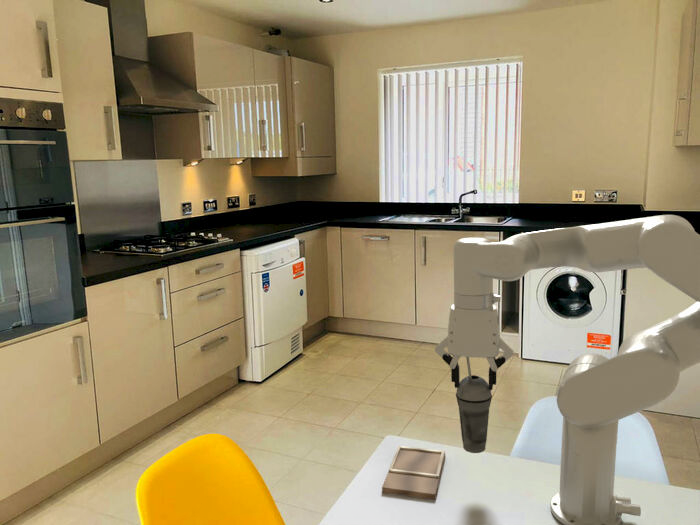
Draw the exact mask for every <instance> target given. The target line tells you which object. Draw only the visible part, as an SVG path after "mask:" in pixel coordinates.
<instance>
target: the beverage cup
mask: <svg viewBox="0 0 700 525" xmlns="http://www.w3.org/2000/svg"><path fill="white" fill-rule="evenodd" d="M465 358H466V364H467V372H468V375H467V376H465V377H463V378H462V379H461V380H460V382H459V386H458V387H457V388H456V392H455V397H456V401H457V406H458V413H459V423H460V430H461V442H462V446H463V450H465V452H468V453H471V454H480V453H483V452H484V451H486V445H487V441H488V440H487V438H488V427H489V416H490V407H491V403H492V398H493V394H492V390H490V389H489V382H487V381H486V379H485V378H483V377H481V376H480V375H475V374H474V375H473V374H472V370H471V363H470V357H465Z"/></svg>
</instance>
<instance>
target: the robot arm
mask: <svg viewBox="0 0 700 525" xmlns="http://www.w3.org/2000/svg"><path fill="white" fill-rule="evenodd" d="M452 252H453V304H452V305H451V306H450V309H449V316H448V327H447V336H446V337H444V338H443V339H442V340H441V341H440V342H439V343H438V344H437V345H436V346H435V347H434V352H436V354H437V355H438V356H439V357H441V358H442V360H443V362H445V363H446V364H447V365H448V366H449V368H450V370H451V374H450V376H451V377H450V379H451V382H452V383H454V388H455V389H457V387H458V386H459V383H460V381H461V380H460V378H461V377H460V376H461V375H460V365H459V360H460V358H461V357H463V358H466V357H469V358H477V359H478V358H481V359H482V358H483V359H486V360H487V363H488V365H489V367H488V385H489V389H490V390H491V391H493V388H494V386H496V385H497V371H498V369H500V368H501V367H502V366H504V365H505V363H506V362H507V361H508V360H510V359H511V358H512V357H513V356H514V353H515V352H514V351H515V350H514V349H512V347H510V346H509V345H508V344H507V343H506V341H505V340H503V339H502V338H501V332H500V317H499V311H498V308H497V306H496V305H495V304H497V303H501V295H498V294H495V293H494V279H495V280H499V281H503V282H514V281H518V280H521V278H523V277H524V276H525V275H526V274H528V273H529V271H533V270H539V269H548V268H551V269H552V268H561V267H562V268H564V267H566V268H567V267H568V268H577V269H579V270H583V271H584V272H589V273H605V272H607V273H608V272H615V271H622V270H631V269H646V268H647V269H648V270H649V271H650V272H652V273H653V274H655V275H656V276H657V277H659V278H660V279H662V280H663V281H665V282H666V283H667V284H669V285H670V286H672V287H674V288H676V290H678V291H680V292H682V293H683V294H684V295H686V296H688V297H689V298H691V299H693V300H694V301H695V302H694V303H692V304H691V305H690V306H688V307H687V308H685V309H683V310H681V311H680V312H678V313H676V314H675V315H674V314H673V316H670V317H668V318H666V319H664V320H662V321H660V322H658V323H656V324H654V325H651V326H649V327H647V328H644V329H642V330H640V331H637V332H636V333H632V334H631V335H630V336H628V337H626V338H625V339H624V340H623V341H622V343H621V345H620V346H619V348H618V352H617V354H616V355H615V356H613V357H611V358H608V357H606V356H604V355H601V354H598V353H584V354H581V355H579V356H578V357H577V356H576V358H574V359H573V360H572V361H571V363H569V365H568V366H567V368H566V370H565V371H564V374H563V376H562V379H561V381H560V383H559V386H558V388H557V391H556V405H557V408H558V411H559V412H560V414H561V415H562V430H561V431H562V432H561V434H562V435H561V449H560V450H561V452H560V469H559V470H560V473H559V474H560V476H559V492H557V493H556V494H555V495H553V496H552V498H551V500H550V511H551V513H552V514H553V517H555V519H556V520H557V521H559V522H560V523H561V524H563V525H621V522H622V515H623V514H626V515H629V516H635V517H637V516H638V517H641V515H642V514H641V513H642V512H641V506H640V504H634V503H633V504H632V500H631V497H620V496H617V495H616V494H615V491H614V490H615V489H614V488H615V475H616V474H615V472H616V462H617V460H616V459H617V444H618V431H619V420H622V419H625V418H627V417H629V416H632V415H634V414H637V413H639V412H642V411H644V410H646V409H649V408H651V407H654V406H656V405H659V404H660V403H661V402H663V401H664V400H666V399H667V398H668V397H669V396H671V395H672V394H673V392H674V391H675V390H676V388H677V386H678V384H679V380H680V373H681V372H683V371H685V370H687V369H688V368H690V367H693V366H695V365H697V364H699V363H700V234H699V233H698V232H696V231H695V228H694V227H693V226H692V224H691V223H690V222H689V221H688V220H687V219H686V218H684V217H682V216H680V215H675V214H662V215H653V216H646V217H639V218H631V219H625V220H618V221H617V220H615V221H610V222H609V221H608V222H602V223H595V224H586V225H578V226H571V227H561V228H560V227H559V228H554V229H553V228H552V229H544V230H538V231H531V232H524V233H518V234H517V233H516V234H514V235H512V236H510V237H507V238H506V239H504V240H501V241H498V242H492V241H491V240H490V239H488V238H485V237H462V238H460V239H457V240H456V241H455V242H454V244H453V251H452ZM446 347H447V351H446V350H445V348H446ZM500 349H501V350H502V351H503V354H501V355H500V356H499V353H500ZM496 357H497V358H496Z"/></svg>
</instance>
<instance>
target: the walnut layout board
mask: <svg viewBox="0 0 700 525" xmlns="http://www.w3.org/2000/svg"><path fill="white" fill-rule="evenodd" d="M445 460H446V451H445V450H440V449H430V448H421V447H413V446H412V447H411V446H405V445H404V446H403V445H398V446H397V448H396V451H395V453H394V456H393V458H392V461H391V463H390V466H389V468H388V472H387V474H386V477H385V479H384V482H383V484H382V487H381V491H382V492H381V493H384V494H391V495H396V496H397V495H399V496H405V497H414V498H421V499H427V500H436V498H437V495H438V494H437V493H438V489H439V485H440V483H441V482H440V480H441V477H442V473H443V467H444V464H445Z"/></svg>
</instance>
